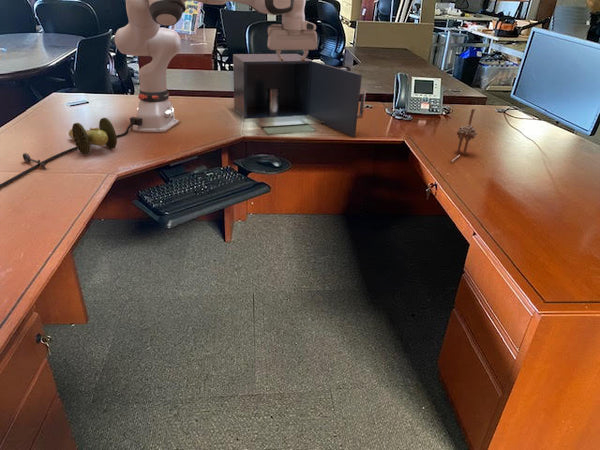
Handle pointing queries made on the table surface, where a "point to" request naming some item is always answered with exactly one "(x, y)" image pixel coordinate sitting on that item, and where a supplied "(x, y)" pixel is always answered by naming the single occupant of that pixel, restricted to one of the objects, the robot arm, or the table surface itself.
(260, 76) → the cupboard
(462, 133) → the ostrich figurine
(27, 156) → the key
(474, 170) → the table surface
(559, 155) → the table surface
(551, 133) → the table surface
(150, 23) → the robot arm
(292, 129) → the desk mat
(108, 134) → the cannon
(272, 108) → the steel tumbler
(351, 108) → the cupboard door
